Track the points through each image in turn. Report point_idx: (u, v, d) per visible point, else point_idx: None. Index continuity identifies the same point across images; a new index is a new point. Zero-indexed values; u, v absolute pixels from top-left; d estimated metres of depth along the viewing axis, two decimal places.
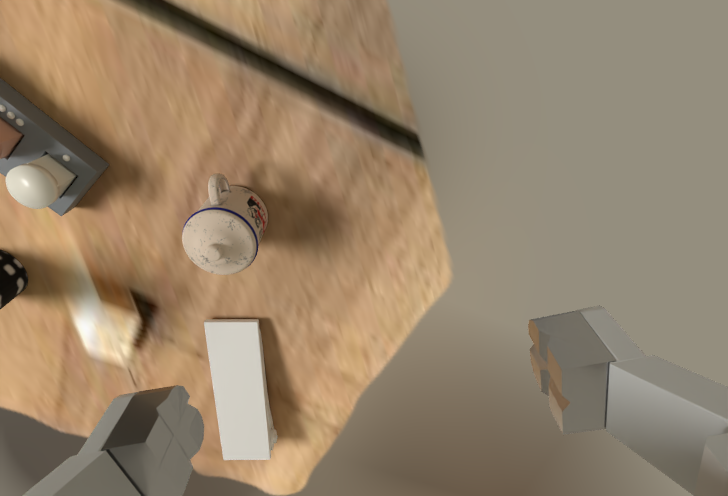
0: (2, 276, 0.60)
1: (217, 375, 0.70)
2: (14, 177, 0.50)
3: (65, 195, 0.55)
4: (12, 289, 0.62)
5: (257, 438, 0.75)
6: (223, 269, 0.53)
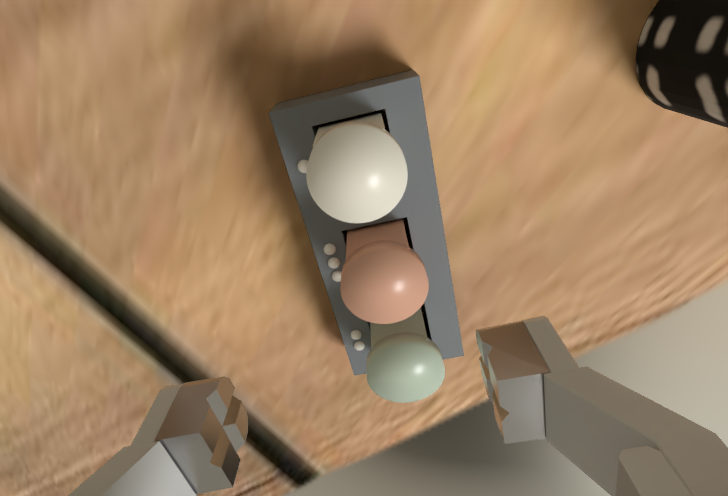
0: (684, 29, 0.22)
1: None
2: (364, 208, 0.23)
3: (369, 108, 0.25)
4: None
5: None
6: None
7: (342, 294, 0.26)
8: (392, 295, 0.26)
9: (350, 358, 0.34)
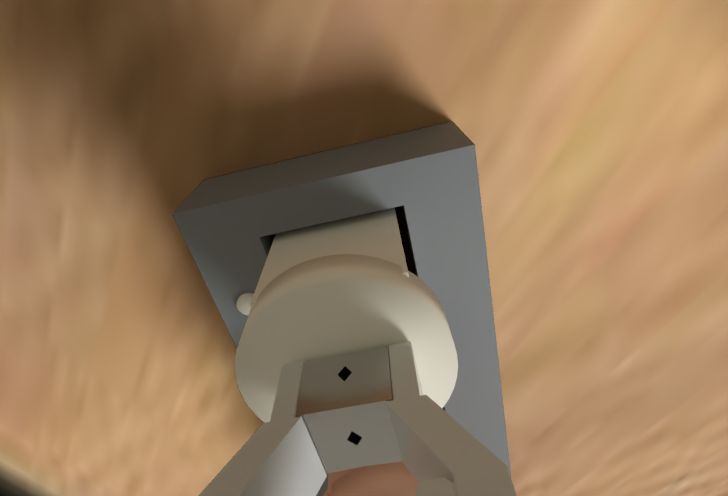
0: None
1: None
2: None
3: (373, 205, 0.13)
4: None
5: None
6: None
7: None
8: None
9: None
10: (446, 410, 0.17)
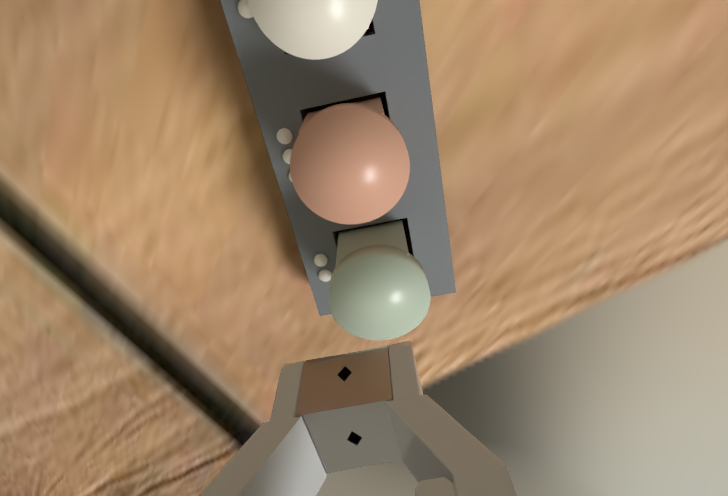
0: None
1: None
2: (322, 37, 0.18)
3: None
4: None
5: None
6: None
7: (293, 177, 0.19)
8: (361, 181, 0.19)
9: (314, 292, 0.27)
10: None
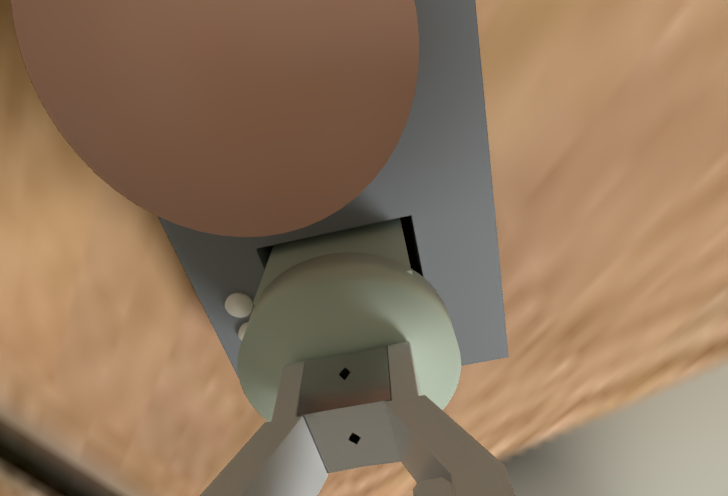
0: None
1: None
2: None
3: None
4: None
5: None
6: None
7: (43, 92, 0.06)
8: (264, 100, 0.06)
9: (235, 364, 0.14)
10: None
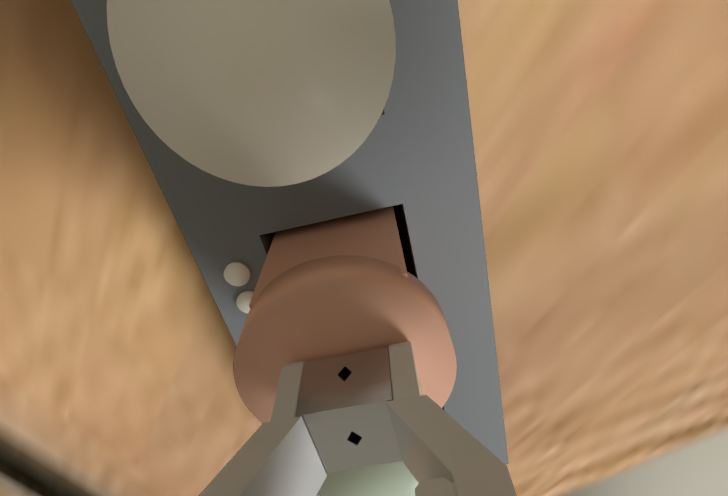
0: None
1: None
2: (284, 147, 0.09)
3: None
4: None
5: None
6: None
7: (241, 390, 0.10)
8: None
9: None
10: (414, 253, 0.13)
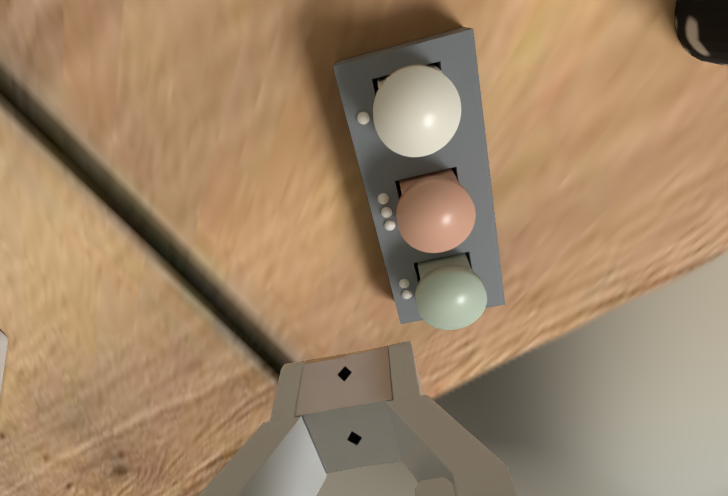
0: None
1: None
2: (422, 143, 0.26)
3: (426, 61, 0.27)
4: None
5: None
6: None
7: (399, 224, 0.29)
8: (443, 225, 0.29)
9: (397, 307, 0.36)
10: None
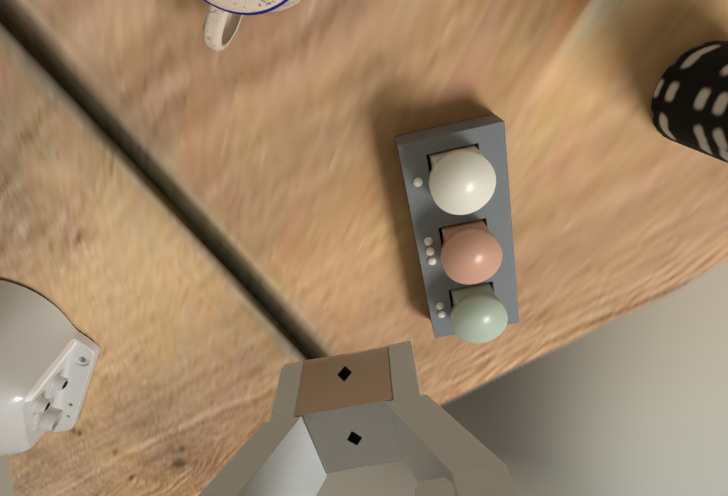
0: (685, 92, 0.34)
1: None
2: (465, 205, 0.35)
3: (468, 142, 0.36)
4: (706, 61, 0.33)
5: None
6: None
7: (443, 263, 0.38)
8: (477, 264, 0.38)
9: (433, 324, 0.45)
10: None
